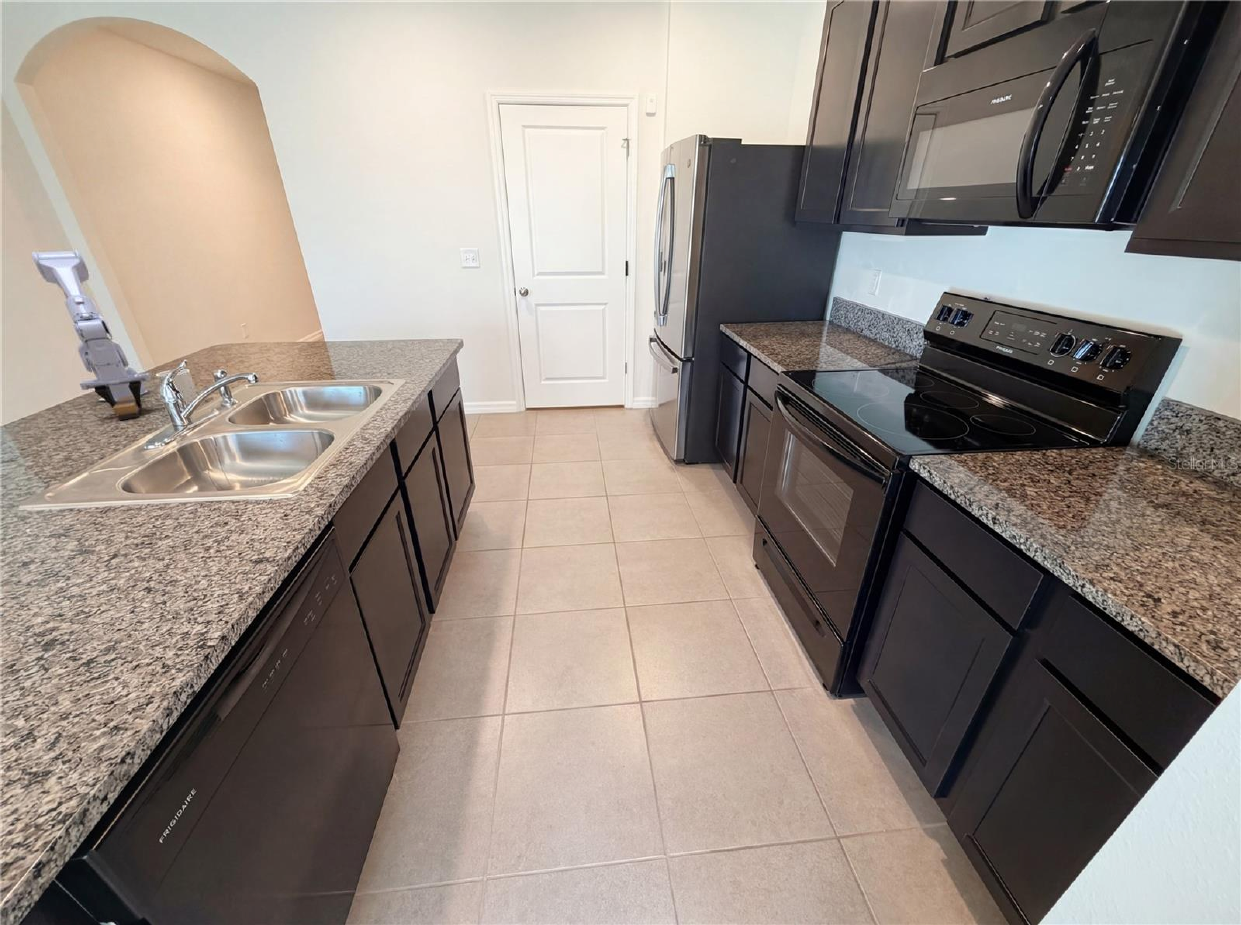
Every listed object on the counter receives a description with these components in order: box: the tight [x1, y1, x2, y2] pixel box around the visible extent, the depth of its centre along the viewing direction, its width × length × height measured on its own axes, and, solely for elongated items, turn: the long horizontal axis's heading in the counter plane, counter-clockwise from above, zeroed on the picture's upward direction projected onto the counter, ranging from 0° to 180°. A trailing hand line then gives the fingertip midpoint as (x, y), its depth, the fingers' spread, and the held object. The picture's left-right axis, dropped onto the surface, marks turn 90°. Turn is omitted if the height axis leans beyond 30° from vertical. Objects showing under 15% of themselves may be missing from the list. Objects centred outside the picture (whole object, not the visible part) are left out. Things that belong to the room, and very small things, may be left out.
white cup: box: [155, 368, 198, 403], centre depth 155 cm, size 8×8×10 cm
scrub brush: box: [112, 396, 142, 421], centre depth 148 cm, size 11×4×4 cm, turn 37°
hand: (128, 408), depth 148 cm, fingers closed on scrub brush, 4 cm apart
